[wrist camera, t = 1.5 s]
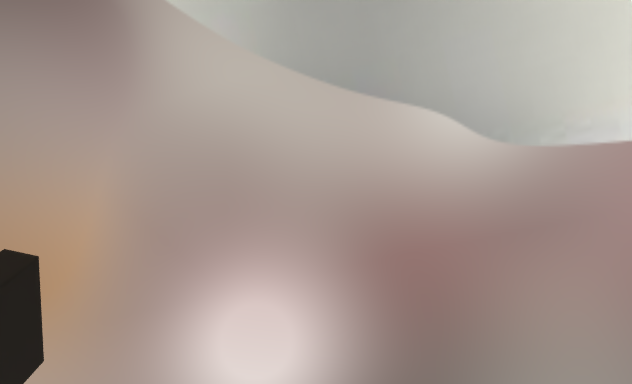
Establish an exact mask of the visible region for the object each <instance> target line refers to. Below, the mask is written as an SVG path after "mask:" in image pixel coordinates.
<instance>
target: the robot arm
mask: <svg viewBox="0 0 632 384" xmlns="http://www.w3.org/2000/svg"><path fill="white" fill-rule="evenodd" d="M43 356H44V355H43V336H42V316H41V296H40V277H39V257H38V256H34V255H30V254H25V253H20V252H16V251H11V250H6V249H4V250H2V251H1V252H0V384H23V383H24V382H25V381H26V380H27V379H28V378H29V377H30V376H31V375H32V373H33V372H34V371H35V370H36V369H37V368H38V367H39V365H41V364H42V362H43V361H44V357H43Z"/></svg>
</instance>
